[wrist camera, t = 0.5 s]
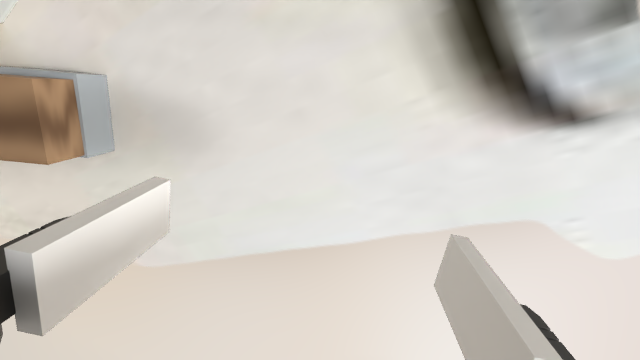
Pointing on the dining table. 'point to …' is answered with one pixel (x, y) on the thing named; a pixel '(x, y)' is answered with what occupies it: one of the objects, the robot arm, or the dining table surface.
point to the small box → (6, 8)
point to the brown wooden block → (38, 120)
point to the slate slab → (83, 106)
